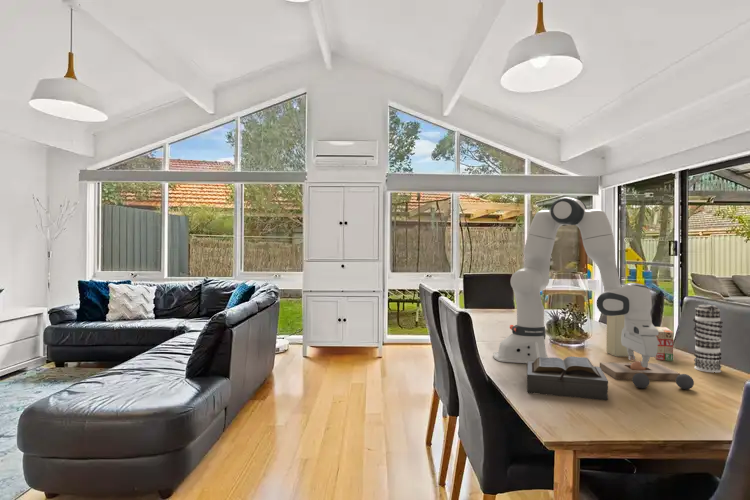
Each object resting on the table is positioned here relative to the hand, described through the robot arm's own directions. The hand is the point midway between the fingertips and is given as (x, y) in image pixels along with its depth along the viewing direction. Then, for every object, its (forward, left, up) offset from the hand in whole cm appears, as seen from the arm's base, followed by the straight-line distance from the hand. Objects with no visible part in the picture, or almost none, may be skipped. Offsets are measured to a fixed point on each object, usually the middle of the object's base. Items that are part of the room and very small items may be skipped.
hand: (637, 363), depth 168 cm
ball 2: (+7, -17, -2) cm, 18 cm away
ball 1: (-7, -17, -2) cm, 18 cm away
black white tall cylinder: (+30, +9, -4) cm, 32 cm away
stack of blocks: (+25, +33, -4) cm, 41 cm away
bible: (-33, -19, -5) cm, 38 cm away
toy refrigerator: (+7, +32, -4) cm, 33 cm away
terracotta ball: (0, 0, -2) cm, 2 cm away
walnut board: (0, 0, -4) cm, 4 cm away
